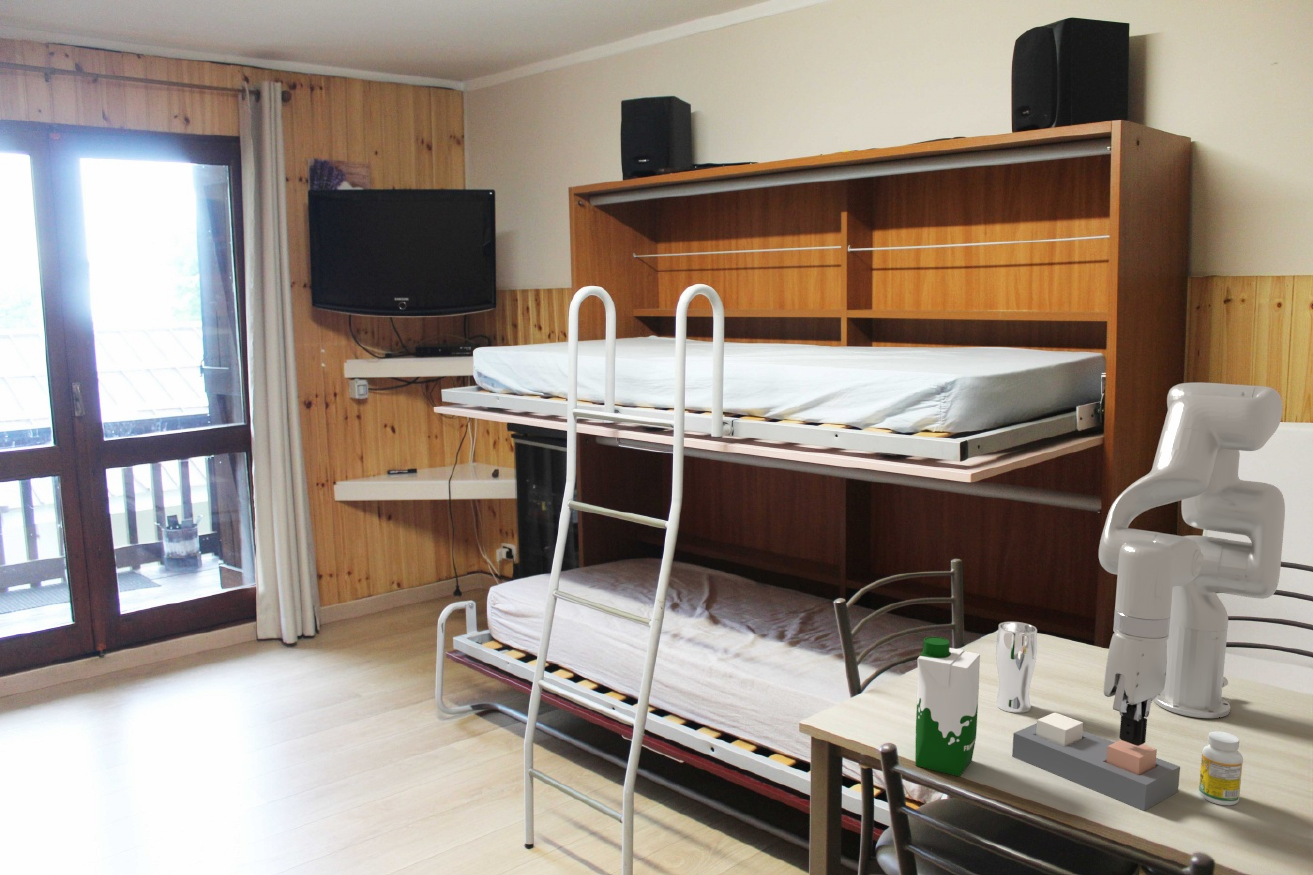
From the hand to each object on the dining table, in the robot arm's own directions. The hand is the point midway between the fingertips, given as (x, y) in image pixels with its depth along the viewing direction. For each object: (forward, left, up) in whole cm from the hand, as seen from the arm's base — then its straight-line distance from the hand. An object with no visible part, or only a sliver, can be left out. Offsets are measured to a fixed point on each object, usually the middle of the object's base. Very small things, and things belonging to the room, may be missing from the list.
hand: (1132, 741), depth 156 cm
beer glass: (-13, -29, -8) cm, 33 cm away
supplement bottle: (-8, +9, -8) cm, 15 cm away
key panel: (0, -6, -8) cm, 10 cm away
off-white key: (0, -12, -5) cm, 13 cm away
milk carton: (+16, -22, -8) cm, 28 cm away
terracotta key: (0, 0, -5) cm, 5 cm away
